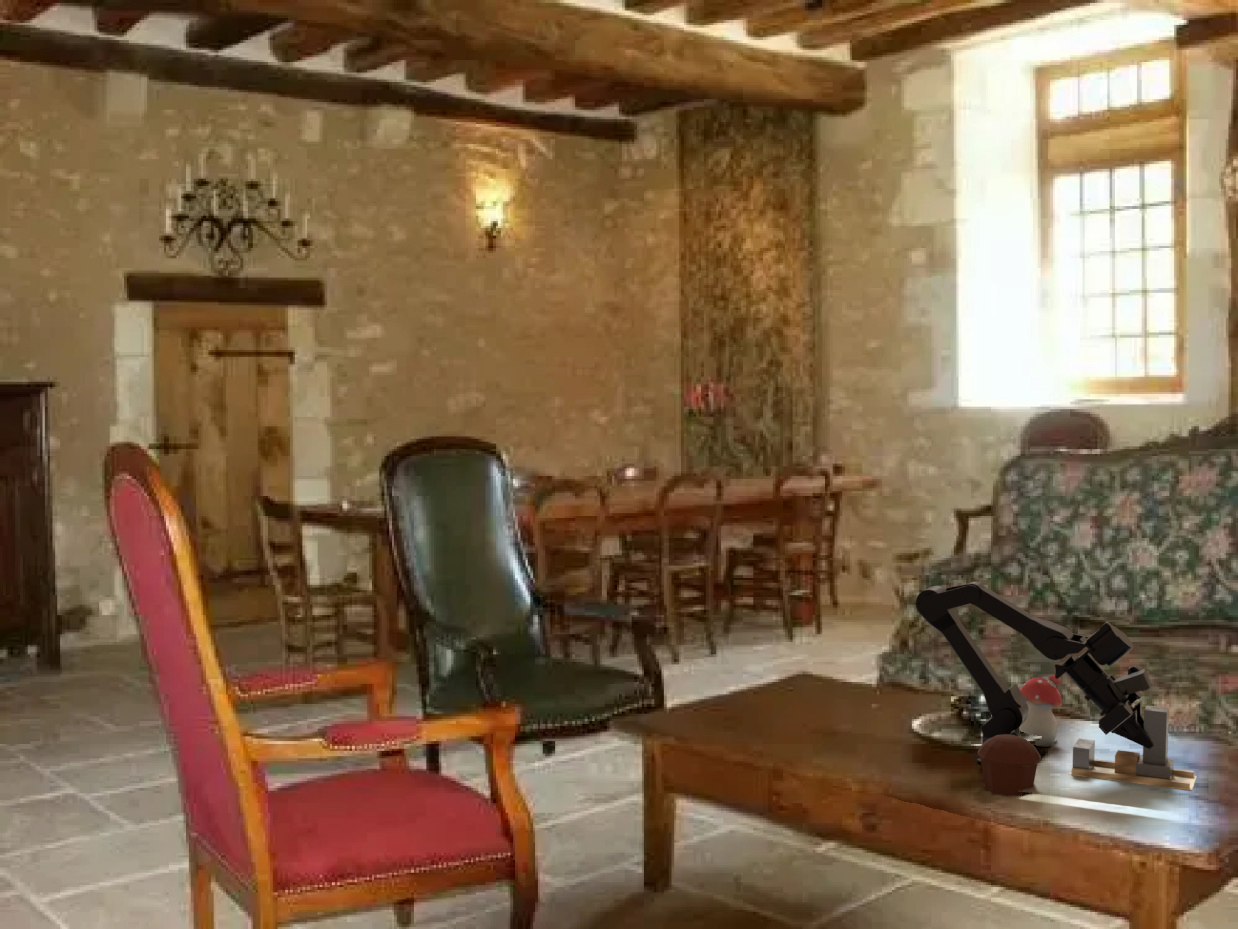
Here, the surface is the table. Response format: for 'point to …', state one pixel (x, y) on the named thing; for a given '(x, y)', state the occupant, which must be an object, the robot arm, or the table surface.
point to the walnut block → (1126, 762)
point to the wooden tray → (1107, 771)
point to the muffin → (1008, 764)
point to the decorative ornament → (1041, 708)
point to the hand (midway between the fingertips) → (1152, 744)
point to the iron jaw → (1084, 754)
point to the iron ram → (1156, 745)
